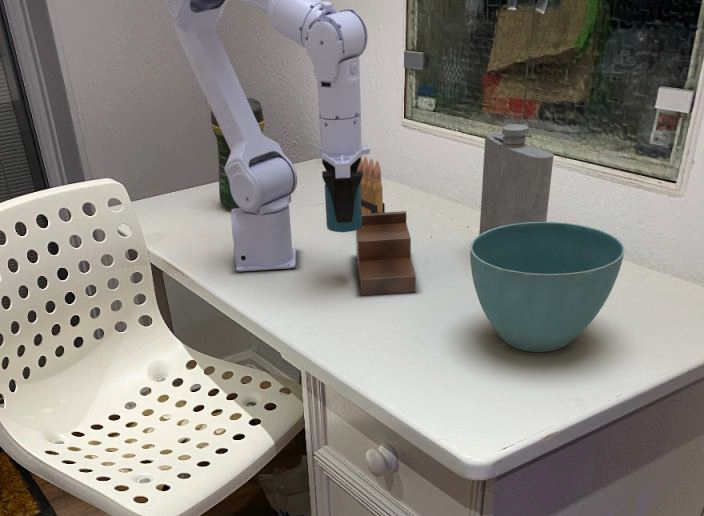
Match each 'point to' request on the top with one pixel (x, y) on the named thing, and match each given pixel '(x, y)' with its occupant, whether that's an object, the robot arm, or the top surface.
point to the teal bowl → (543, 280)
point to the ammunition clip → (371, 187)
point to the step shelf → (384, 254)
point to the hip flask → (514, 179)
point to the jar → (345, 226)
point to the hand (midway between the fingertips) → (343, 215)
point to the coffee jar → (225, 152)
